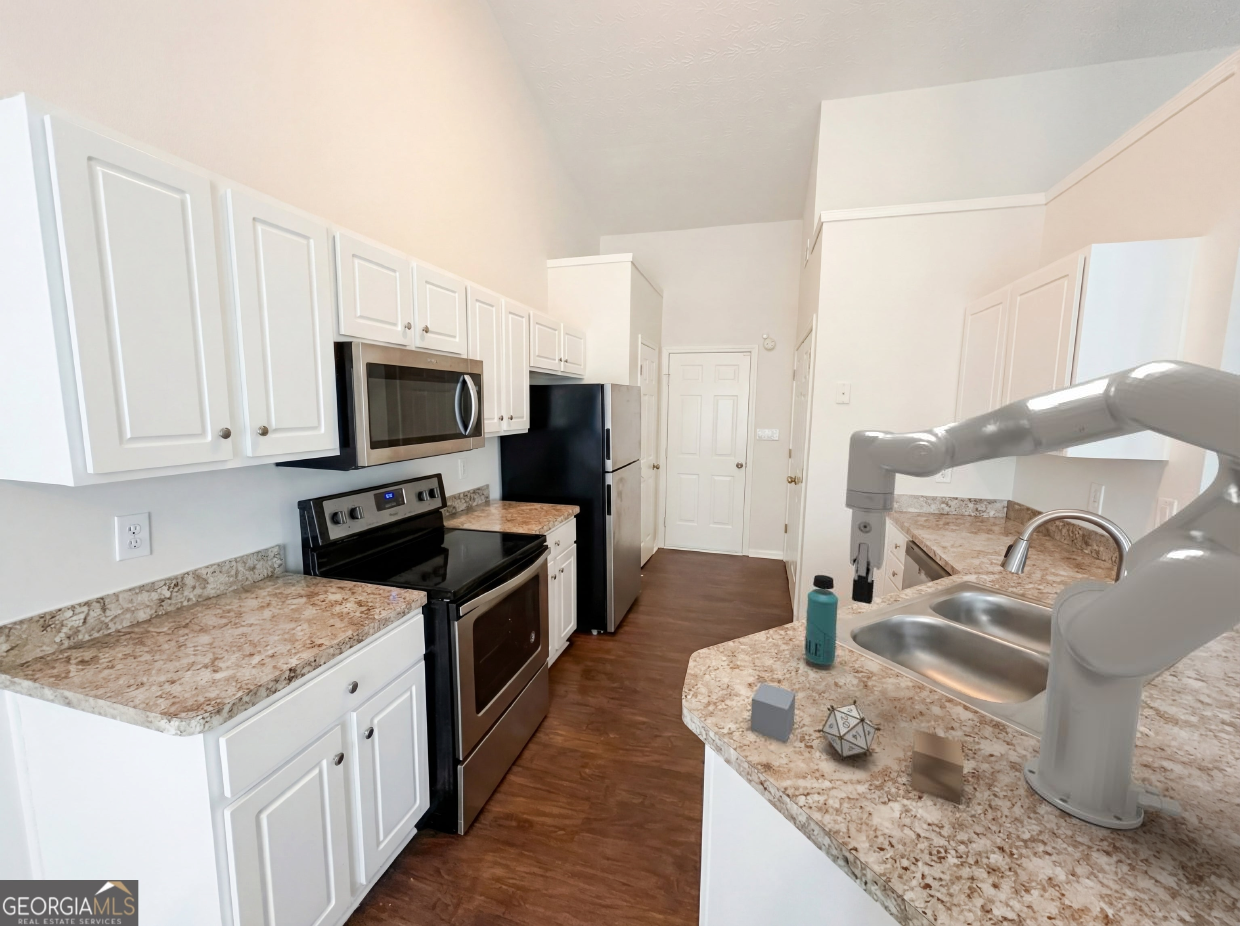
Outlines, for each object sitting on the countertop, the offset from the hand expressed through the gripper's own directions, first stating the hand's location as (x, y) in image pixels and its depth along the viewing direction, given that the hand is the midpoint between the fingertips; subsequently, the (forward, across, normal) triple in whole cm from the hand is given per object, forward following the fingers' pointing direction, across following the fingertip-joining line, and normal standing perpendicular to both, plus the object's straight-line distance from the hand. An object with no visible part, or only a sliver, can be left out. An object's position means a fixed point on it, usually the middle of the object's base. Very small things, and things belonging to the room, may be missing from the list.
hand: (862, 600), depth 87 cm
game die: (+22, -12, 0) cm, 25 cm away
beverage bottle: (+22, +16, +9) cm, 28 cm away
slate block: (+22, -12, +12) cm, 28 cm away
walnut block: (+22, -12, -12) cm, 28 cm away
